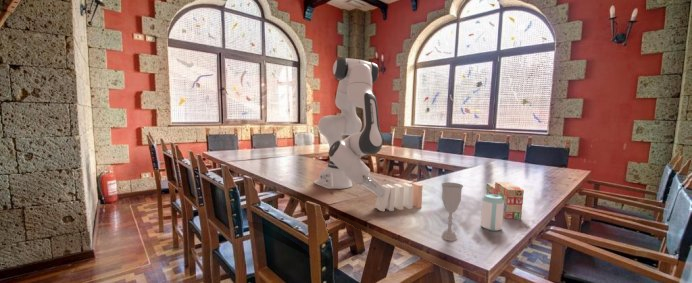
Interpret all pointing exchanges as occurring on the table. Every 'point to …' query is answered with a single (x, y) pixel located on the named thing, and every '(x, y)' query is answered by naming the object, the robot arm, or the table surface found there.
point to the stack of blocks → (508, 198)
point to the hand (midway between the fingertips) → (380, 195)
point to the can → (492, 212)
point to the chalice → (451, 206)
